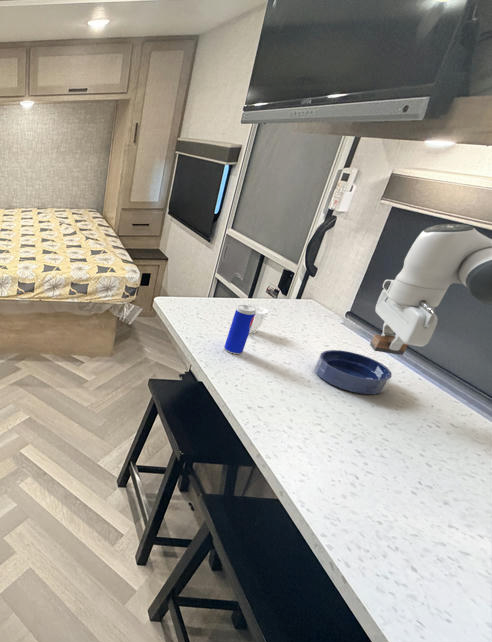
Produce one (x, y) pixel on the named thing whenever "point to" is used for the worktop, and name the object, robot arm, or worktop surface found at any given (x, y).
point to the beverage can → (240, 329)
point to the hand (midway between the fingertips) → (388, 344)
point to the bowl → (352, 372)
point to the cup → (258, 318)
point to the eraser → (385, 345)
